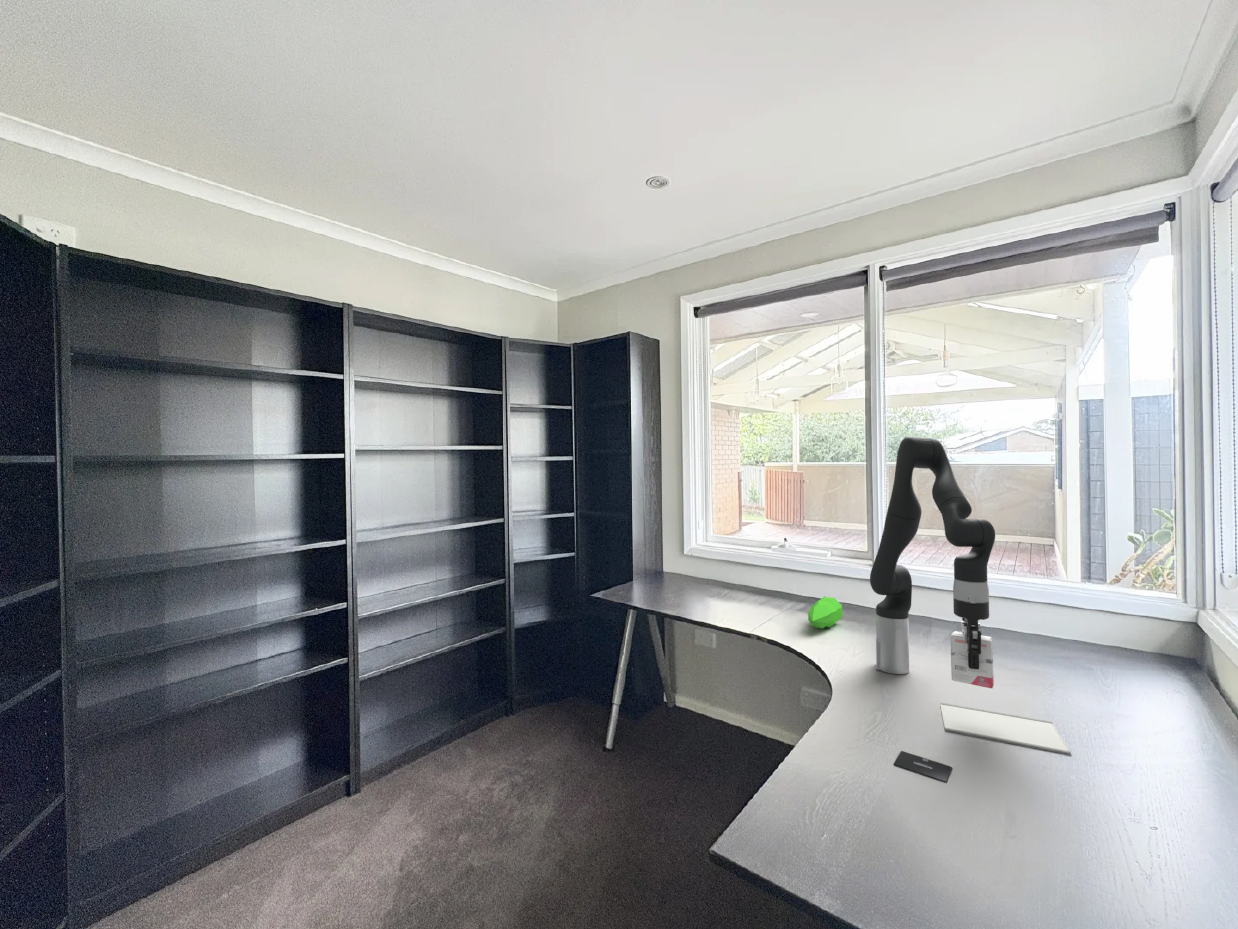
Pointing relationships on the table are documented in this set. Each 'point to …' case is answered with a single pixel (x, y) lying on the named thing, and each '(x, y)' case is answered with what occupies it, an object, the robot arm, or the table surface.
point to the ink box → (960, 661)
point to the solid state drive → (923, 766)
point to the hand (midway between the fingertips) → (972, 664)
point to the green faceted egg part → (825, 612)
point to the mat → (1003, 728)
